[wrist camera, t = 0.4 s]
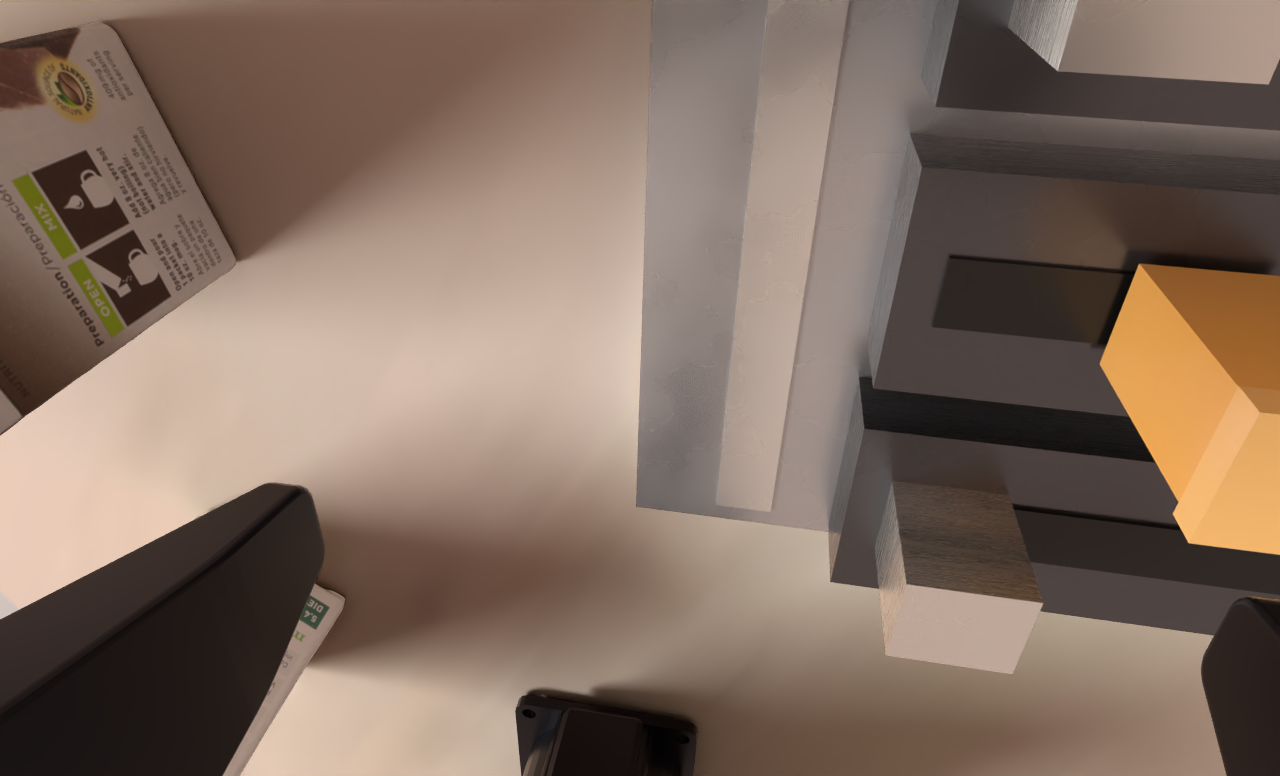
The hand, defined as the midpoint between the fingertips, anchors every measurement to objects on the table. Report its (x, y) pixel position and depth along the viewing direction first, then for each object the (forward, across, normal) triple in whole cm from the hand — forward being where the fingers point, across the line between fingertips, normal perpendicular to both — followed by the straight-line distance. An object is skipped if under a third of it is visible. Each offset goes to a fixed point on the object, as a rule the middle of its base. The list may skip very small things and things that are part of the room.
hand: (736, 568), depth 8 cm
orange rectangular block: (+8, -7, +1) cm, 11 cm away
